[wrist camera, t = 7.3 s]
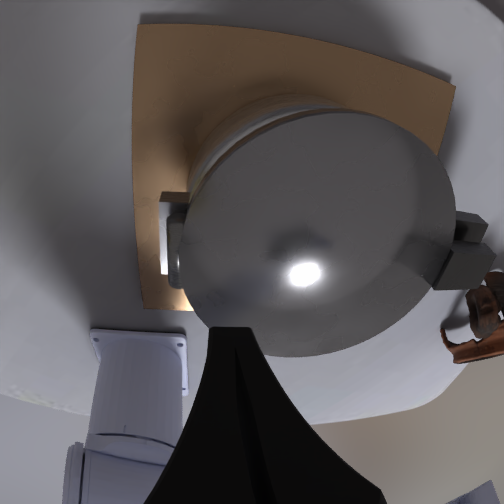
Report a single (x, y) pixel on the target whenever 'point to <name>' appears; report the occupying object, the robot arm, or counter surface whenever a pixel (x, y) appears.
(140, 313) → the counter surface
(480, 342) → the pottery mug
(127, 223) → the counter surface
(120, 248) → the counter surface
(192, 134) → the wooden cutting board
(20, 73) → the counter surface
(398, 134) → the cooker lid
